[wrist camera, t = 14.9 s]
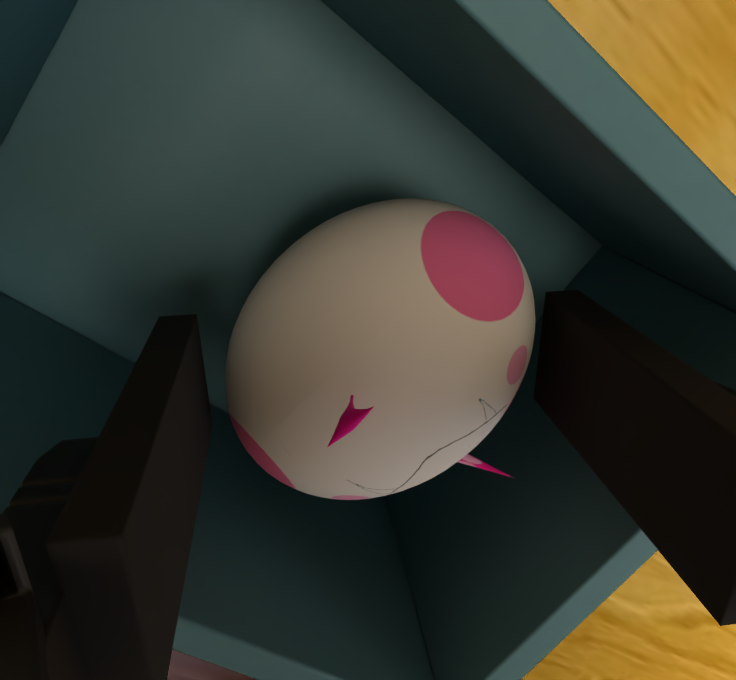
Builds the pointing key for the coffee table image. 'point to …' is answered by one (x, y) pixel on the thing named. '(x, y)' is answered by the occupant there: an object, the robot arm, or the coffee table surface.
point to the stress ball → (380, 349)
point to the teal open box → (288, 224)
